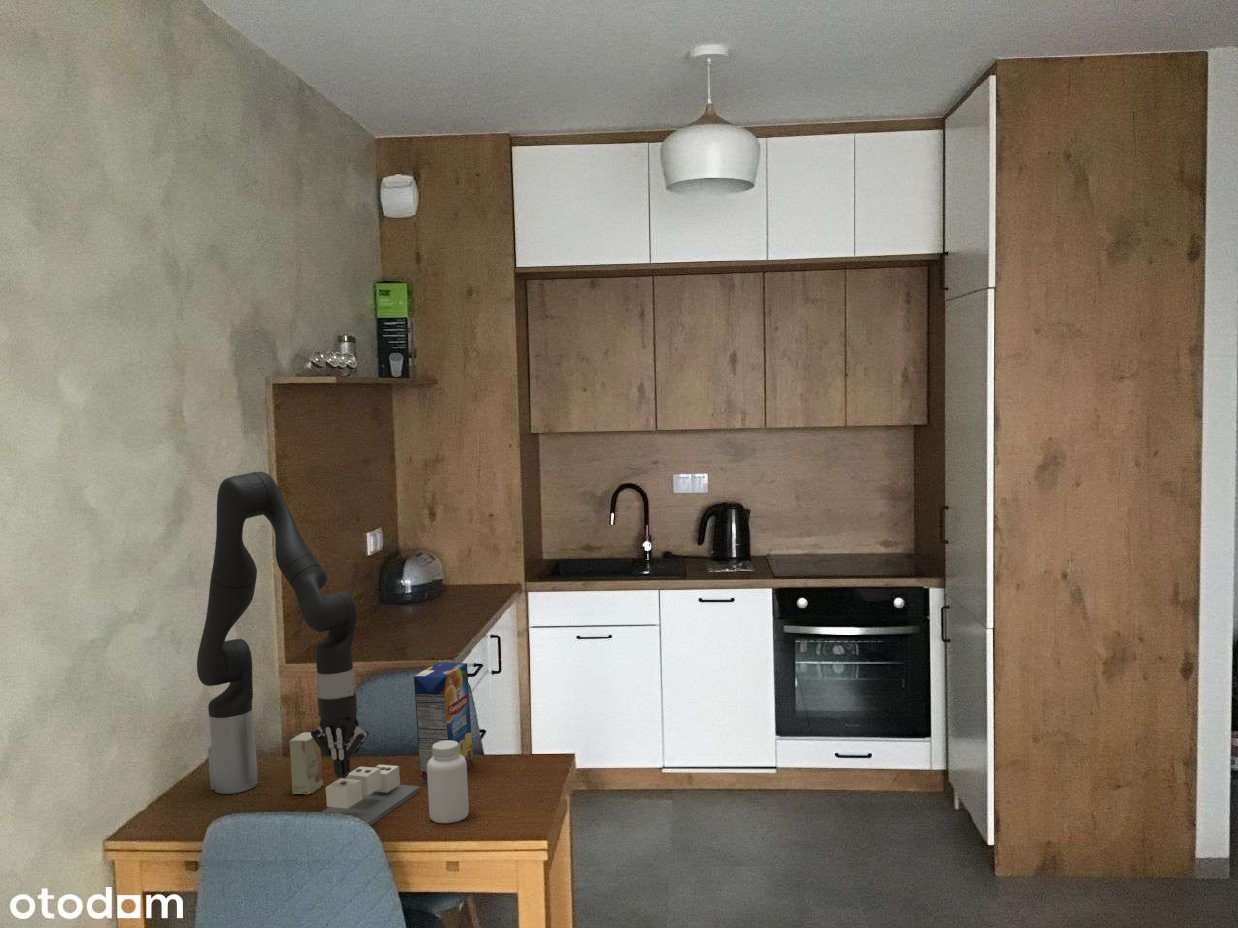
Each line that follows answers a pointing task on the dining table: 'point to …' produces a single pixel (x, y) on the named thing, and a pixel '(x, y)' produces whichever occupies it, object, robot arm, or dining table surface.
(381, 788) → the key
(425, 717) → the juice carton
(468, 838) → the dining table surface
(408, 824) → the dining table surface
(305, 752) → the skincare box
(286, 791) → the dining table surface
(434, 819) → the pill bottle
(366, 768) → the key
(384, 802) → the grey rectangular board
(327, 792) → the key
